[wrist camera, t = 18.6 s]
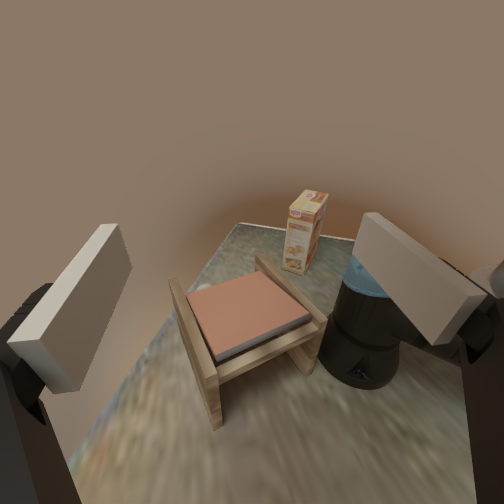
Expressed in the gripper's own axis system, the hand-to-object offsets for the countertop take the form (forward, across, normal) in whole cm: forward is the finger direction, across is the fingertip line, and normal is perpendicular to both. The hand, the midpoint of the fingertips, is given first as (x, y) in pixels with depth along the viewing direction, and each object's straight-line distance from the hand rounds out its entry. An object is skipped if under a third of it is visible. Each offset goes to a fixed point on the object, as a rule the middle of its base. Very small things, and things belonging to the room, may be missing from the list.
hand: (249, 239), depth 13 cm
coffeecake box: (+45, +23, -36) cm, 62 cm away
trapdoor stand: (+16, +1, -36) cm, 40 cm away
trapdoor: (+16, +2, -23) cm, 28 cm away
